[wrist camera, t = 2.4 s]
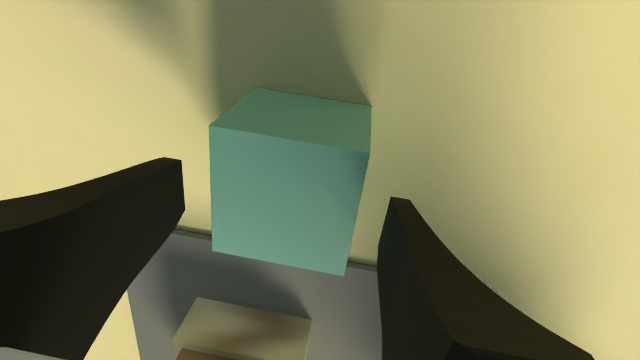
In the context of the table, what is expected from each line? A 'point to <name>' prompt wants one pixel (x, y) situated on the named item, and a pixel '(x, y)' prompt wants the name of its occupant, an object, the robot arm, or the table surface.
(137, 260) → the robot arm
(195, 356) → the walnut slab
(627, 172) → the table surface
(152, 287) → the charcoal mat
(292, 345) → the birch slab
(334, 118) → the teal cube
